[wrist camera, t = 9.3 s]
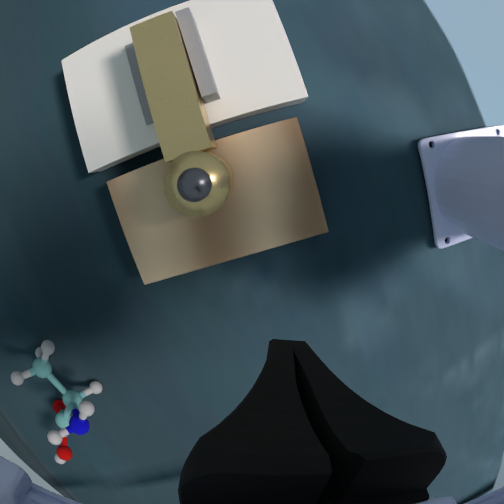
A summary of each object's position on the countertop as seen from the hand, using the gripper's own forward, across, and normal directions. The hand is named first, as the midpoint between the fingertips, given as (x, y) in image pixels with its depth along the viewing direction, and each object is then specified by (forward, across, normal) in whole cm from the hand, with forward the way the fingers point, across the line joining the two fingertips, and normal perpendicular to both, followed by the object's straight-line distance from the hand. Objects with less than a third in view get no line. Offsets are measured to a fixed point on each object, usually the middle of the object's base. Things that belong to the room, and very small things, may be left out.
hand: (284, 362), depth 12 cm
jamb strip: (+10, +4, -4) cm, 12 cm away
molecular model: (+11, +16, +13) cm, 23 cm away
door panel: (+10, +7, -12) cm, 18 cm away
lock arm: (+8, +6, -9) cm, 14 cm away
